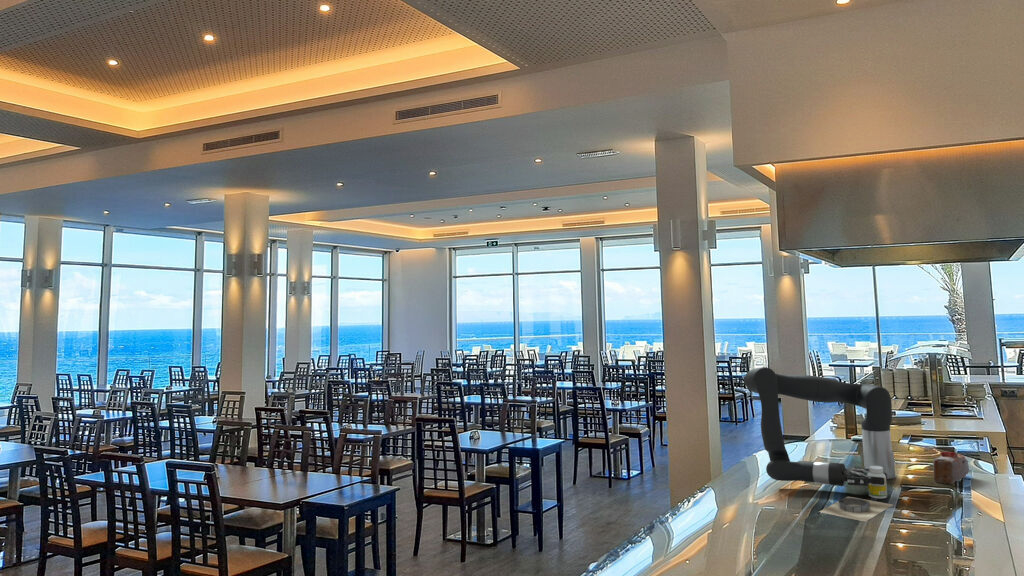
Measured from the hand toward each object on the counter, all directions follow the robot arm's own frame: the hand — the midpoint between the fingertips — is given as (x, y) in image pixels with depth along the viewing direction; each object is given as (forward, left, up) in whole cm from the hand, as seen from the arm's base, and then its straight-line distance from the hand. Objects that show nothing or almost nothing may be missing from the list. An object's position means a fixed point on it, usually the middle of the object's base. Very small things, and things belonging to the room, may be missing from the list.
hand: (885, 478), depth 218 cm
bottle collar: (+12, +12, -6) cm, 18 cm away
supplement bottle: (+2, -1, -6) cm, 7 cm away
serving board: (+12, +12, -7) cm, 18 cm away
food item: (-27, -26, -7) cm, 38 cm away
